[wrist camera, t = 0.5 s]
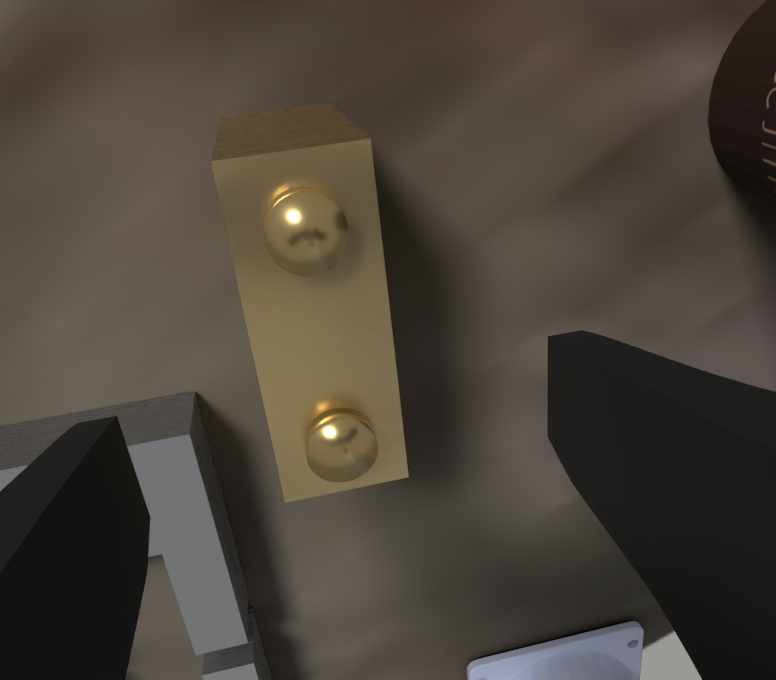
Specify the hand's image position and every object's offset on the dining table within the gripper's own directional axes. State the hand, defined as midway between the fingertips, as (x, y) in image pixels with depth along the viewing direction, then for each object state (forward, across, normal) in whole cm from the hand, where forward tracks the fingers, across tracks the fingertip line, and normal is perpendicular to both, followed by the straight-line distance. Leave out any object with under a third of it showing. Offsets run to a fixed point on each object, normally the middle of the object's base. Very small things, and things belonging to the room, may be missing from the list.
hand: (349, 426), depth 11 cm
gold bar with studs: (+10, 0, 0) cm, 10 cm away
